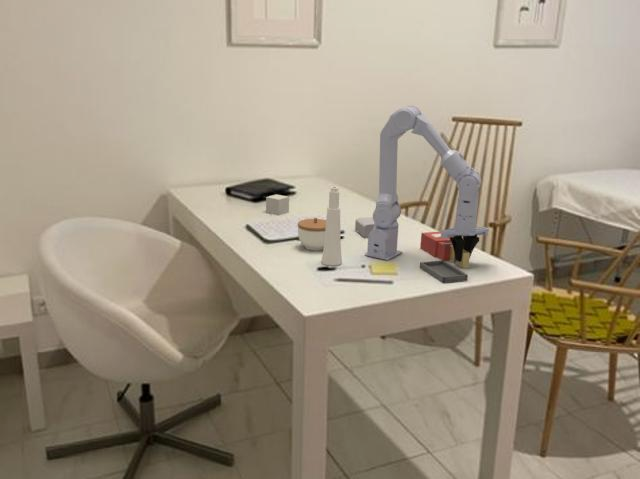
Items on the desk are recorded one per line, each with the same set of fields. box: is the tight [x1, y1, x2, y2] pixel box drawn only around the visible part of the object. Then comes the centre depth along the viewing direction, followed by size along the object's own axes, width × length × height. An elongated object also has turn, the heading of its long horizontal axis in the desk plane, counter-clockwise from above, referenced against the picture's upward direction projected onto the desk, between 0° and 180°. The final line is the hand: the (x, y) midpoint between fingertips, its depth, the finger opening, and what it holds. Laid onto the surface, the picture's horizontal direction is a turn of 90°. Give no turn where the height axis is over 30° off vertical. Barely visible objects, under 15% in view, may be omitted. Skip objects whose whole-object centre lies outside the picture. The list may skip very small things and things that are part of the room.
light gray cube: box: [265, 194, 290, 216], centre depth 241 cm, size 6×6×6 cm
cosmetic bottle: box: [320, 186, 343, 267], centre depth 185 cm, size 6×6×22 cm
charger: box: [354, 216, 374, 239], centre depth 220 cm, size 5×9×15 cm
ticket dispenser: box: [420, 231, 464, 262], centre depth 199 cm, size 13×8×5 cm, turn 20°
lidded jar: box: [297, 217, 326, 251], centre depth 200 cm, size 11×11×9 cm
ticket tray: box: [419, 259, 469, 284], centre depth 181 cm, size 13×8×2 cm, turn 20°
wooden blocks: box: [449, 245, 471, 268], centre depth 192 cm, size 10×2×4 cm, turn 20°
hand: (462, 260), depth 189 cm, fingers closed on wooden blocks, 2 cm apart
